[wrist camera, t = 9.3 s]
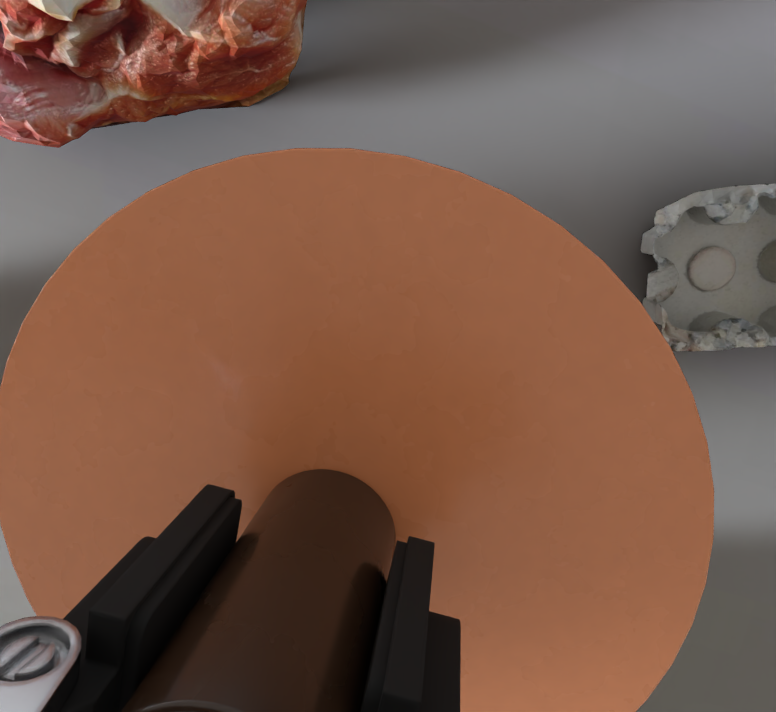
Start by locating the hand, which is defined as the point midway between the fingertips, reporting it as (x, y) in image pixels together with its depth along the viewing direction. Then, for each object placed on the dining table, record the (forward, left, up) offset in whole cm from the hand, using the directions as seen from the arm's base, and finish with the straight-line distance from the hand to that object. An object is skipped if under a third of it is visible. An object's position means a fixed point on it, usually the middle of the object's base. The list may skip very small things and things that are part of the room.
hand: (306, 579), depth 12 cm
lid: (0, 0, -2) cm, 2 cm away
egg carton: (+16, +8, -22) cm, 28 cm away
